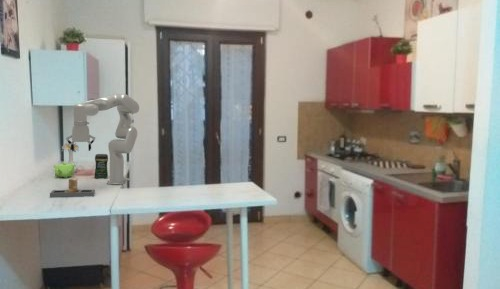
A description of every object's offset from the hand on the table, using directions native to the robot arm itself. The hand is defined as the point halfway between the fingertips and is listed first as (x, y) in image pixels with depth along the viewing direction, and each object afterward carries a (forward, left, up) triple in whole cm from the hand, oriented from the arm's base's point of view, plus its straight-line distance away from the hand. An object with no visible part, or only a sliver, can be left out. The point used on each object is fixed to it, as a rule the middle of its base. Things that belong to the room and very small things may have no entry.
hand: (81, 150), depth 255 cm
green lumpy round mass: (+17, -56, -26) cm, 64 cm away
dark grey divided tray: (+3, +14, -26) cm, 30 cm away
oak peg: (+3, +14, -26) cm, 30 cm away
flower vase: (+17, -81, -26) cm, 87 cm away
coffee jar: (-9, -51, -26) cm, 58 cm away
